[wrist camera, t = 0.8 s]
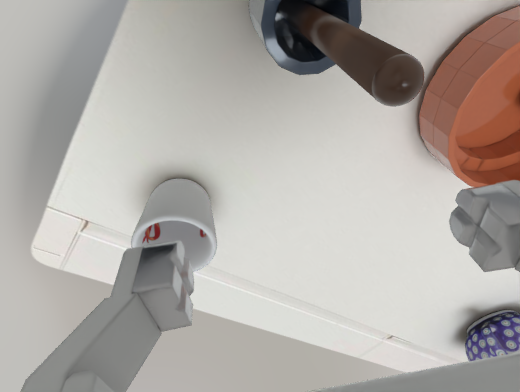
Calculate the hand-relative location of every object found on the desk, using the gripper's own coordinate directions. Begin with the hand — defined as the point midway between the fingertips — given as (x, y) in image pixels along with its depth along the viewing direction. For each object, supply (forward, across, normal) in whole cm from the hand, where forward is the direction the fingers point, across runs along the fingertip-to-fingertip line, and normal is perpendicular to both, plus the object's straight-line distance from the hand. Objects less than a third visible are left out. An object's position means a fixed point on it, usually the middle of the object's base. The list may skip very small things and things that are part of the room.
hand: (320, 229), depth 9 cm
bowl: (+23, -24, +8) cm, 35 cm away
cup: (+23, +10, +16) cm, 30 cm away
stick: (+22, -3, -3) cm, 23 cm away
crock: (+23, -3, -3) cm, 24 cm away
